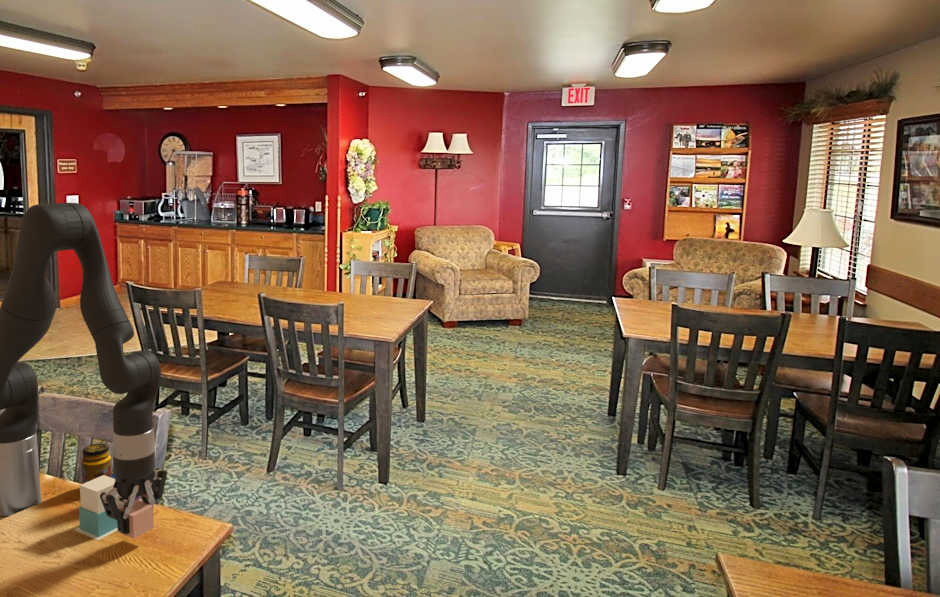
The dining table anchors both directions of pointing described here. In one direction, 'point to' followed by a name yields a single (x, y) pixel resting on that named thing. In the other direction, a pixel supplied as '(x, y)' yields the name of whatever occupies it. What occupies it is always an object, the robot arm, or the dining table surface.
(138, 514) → the pink cube
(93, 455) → the condiment
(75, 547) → the dining table surface
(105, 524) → the teal base brick
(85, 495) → the cream brick
